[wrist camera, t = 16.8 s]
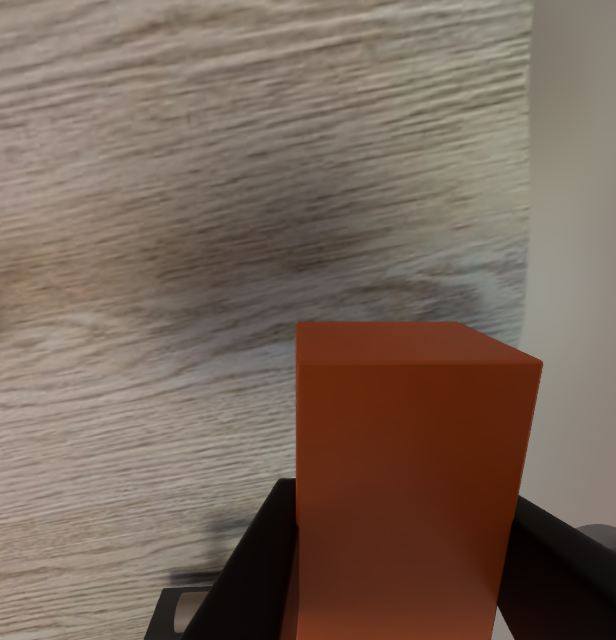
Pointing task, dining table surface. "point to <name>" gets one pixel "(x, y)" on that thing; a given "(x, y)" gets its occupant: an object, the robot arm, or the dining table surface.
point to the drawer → (175, 612)
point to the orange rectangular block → (406, 477)
